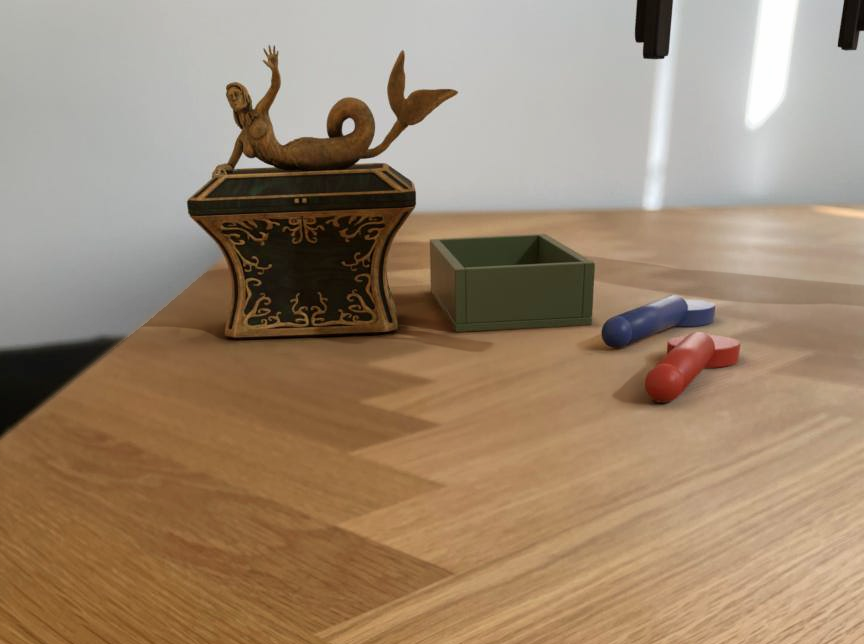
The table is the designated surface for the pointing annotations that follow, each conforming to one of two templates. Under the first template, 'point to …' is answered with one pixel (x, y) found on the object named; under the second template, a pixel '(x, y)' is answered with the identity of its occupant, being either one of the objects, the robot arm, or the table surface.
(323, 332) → the decorative box
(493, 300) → the bin
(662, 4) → the robot arm
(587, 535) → the table surface
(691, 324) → the blue spoon
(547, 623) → the table surface
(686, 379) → the red spoon
